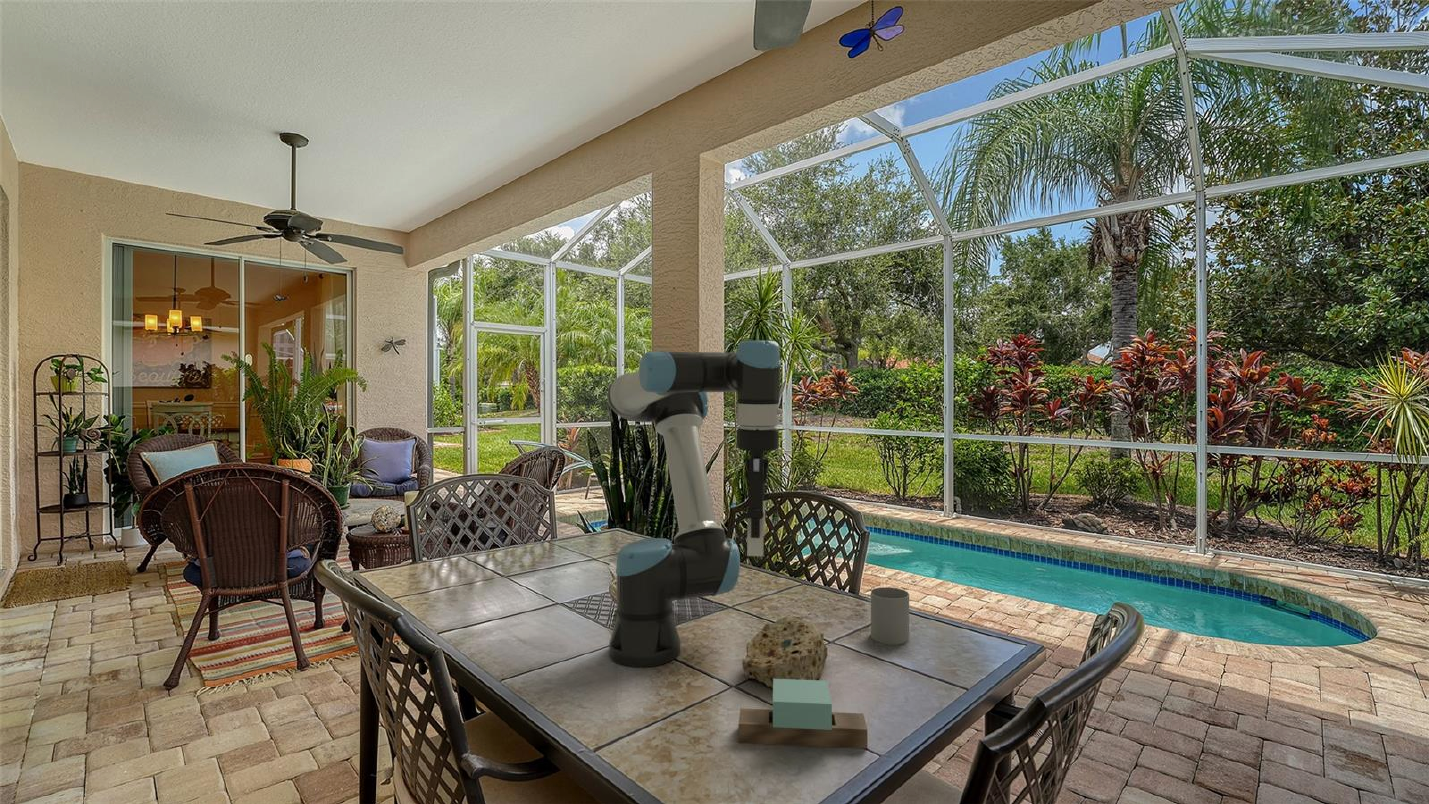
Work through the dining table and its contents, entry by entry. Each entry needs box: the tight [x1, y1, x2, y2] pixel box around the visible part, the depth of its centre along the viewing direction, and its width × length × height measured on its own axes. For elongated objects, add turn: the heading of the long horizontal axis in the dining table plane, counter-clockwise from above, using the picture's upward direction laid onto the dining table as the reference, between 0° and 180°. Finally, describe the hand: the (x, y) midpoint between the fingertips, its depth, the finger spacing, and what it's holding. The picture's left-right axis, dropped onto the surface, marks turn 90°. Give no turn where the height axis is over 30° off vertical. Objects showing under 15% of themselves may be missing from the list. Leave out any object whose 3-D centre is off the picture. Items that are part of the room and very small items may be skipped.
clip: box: [772, 679, 833, 730], centre depth 105 cm, size 9×8×8 cm
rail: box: [737, 707, 868, 750], centre depth 105 cm, size 20×5×3 cm, turn 84°
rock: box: [741, 615, 828, 689], centre depth 129 cm, size 21×14×10 cm
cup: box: [870, 586, 910, 645], centre depth 146 cm, size 8×8×10 cm
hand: (756, 544), depth 118 cm, fingers open, 13 cm apart
